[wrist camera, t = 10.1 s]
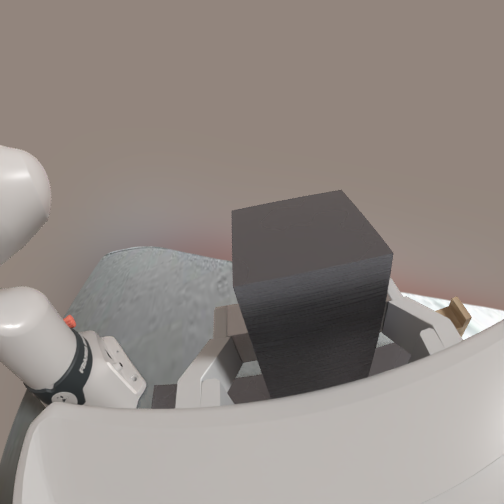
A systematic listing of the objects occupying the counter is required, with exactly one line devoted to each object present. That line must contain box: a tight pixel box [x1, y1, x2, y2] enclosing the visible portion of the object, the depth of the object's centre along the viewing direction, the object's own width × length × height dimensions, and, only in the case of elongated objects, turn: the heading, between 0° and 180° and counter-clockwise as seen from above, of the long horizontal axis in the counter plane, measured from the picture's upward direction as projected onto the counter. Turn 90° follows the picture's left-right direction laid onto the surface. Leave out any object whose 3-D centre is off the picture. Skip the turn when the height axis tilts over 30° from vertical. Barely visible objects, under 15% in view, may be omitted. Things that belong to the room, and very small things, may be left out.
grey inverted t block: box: [151, 190, 411, 409], centre depth 12 cm, size 19×4×13 cm, turn 95°
